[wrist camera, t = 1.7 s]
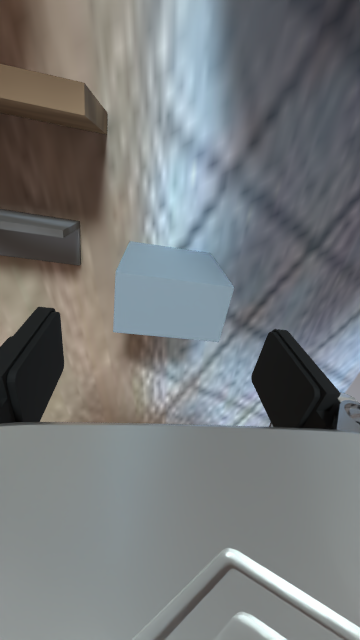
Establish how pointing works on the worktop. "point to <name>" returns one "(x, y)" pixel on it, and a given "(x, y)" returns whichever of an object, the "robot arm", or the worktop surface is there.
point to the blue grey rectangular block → (170, 293)
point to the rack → (57, 108)
